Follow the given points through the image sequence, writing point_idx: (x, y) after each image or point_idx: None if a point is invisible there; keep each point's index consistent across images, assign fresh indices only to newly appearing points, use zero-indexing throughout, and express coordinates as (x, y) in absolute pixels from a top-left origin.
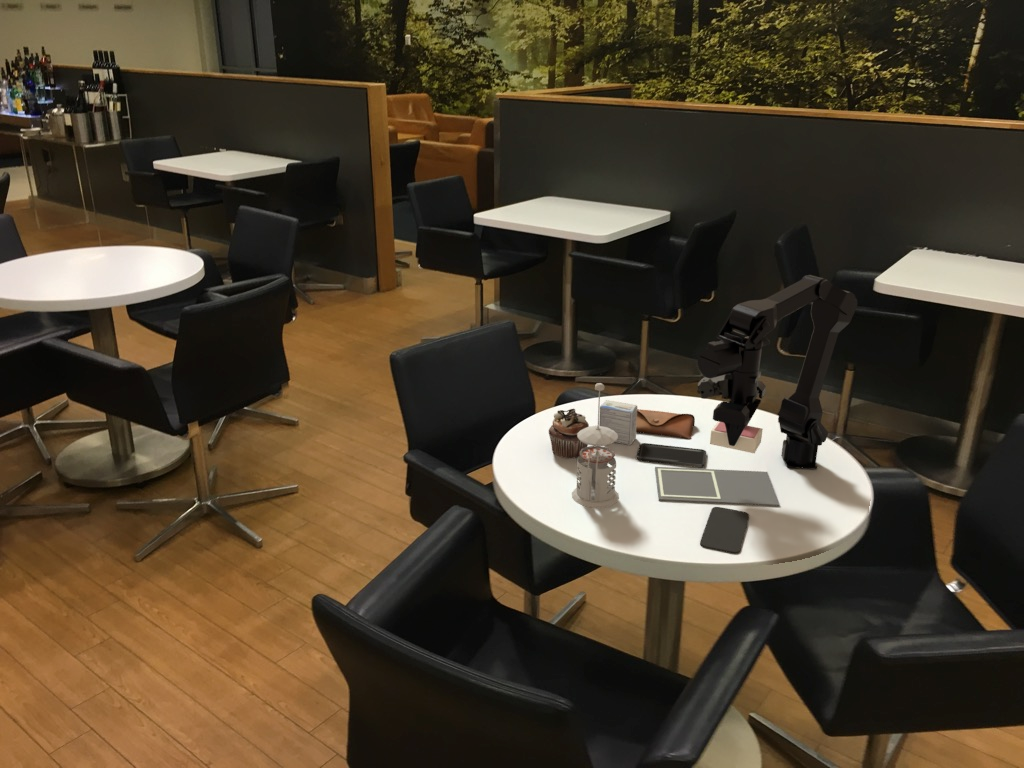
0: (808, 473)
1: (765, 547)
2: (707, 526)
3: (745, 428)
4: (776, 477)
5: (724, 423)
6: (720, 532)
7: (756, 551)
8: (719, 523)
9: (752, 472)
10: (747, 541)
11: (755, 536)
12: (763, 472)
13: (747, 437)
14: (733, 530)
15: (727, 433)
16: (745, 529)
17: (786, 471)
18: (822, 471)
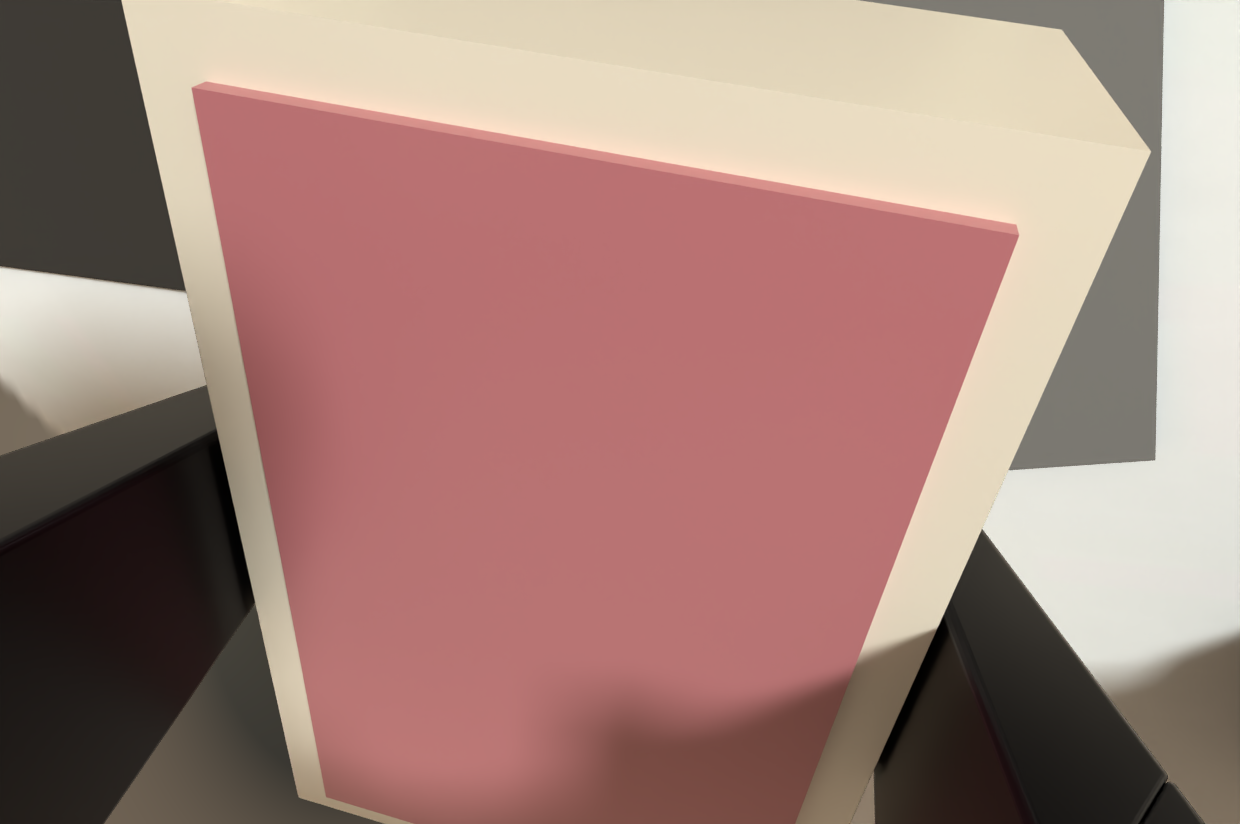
0: (1185, 714)
1: (91, 386)
2: (10, 10)
3: (650, 750)
4: (1074, 511)
5: (787, 356)
6: (10, 122)
7: (23, 341)
8: (104, 102)
9: (1120, 336)
10: (76, 293)
11: (156, 338)
12: (1133, 429)
13: (302, 715)
14: (92, 210)
15: (34, 455)
16: (158, 285)
17: (1213, 589)
18: (1231, 791)
